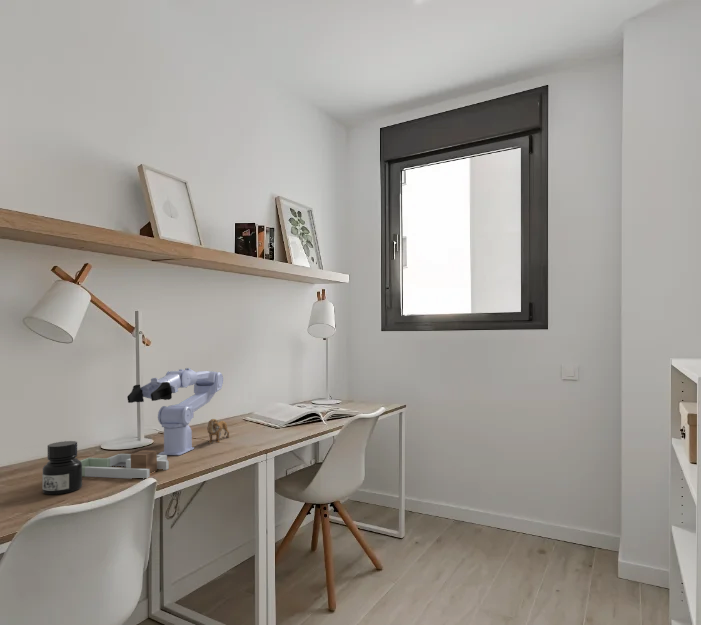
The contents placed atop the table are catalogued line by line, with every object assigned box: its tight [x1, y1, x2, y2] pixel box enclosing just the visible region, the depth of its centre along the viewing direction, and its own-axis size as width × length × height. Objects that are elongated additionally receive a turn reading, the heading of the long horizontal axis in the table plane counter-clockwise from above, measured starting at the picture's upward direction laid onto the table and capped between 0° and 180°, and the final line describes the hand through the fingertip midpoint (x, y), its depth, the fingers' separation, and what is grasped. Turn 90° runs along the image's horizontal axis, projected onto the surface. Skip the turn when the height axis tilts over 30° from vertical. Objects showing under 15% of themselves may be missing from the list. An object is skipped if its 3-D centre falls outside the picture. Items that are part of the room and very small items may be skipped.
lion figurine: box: [206, 418, 230, 444], centre depth 186 cm, size 15×5×9 cm, turn 176°
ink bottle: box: [41, 440, 83, 495], centre depth 130 cm, size 10×9×12 cm
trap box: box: [80, 453, 170, 480], centre depth 148 cm, size 16×28×2 cm, turn 77°
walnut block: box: [130, 449, 158, 474], centre depth 144 cm, size 5×5×6 cm
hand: (140, 398), depth 149 cm, fingers open, 7 cm apart
